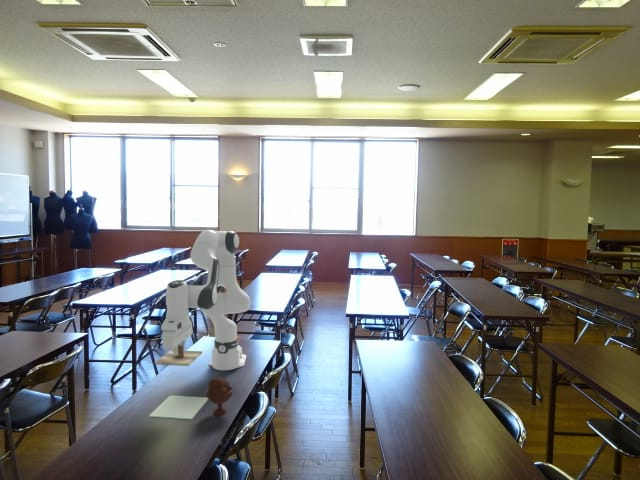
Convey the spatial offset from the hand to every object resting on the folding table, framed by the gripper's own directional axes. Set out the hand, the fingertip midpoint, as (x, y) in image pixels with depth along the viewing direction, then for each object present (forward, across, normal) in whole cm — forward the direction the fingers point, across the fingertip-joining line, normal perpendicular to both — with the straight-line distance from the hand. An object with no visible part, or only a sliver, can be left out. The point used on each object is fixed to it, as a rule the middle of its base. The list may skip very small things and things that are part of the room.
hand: (179, 352), depth 173 cm
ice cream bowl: (+24, +2, +18) cm, 30 cm away
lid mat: (+24, 0, 0) cm, 24 cm away
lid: (+2, 0, 0) cm, 2 cm away
